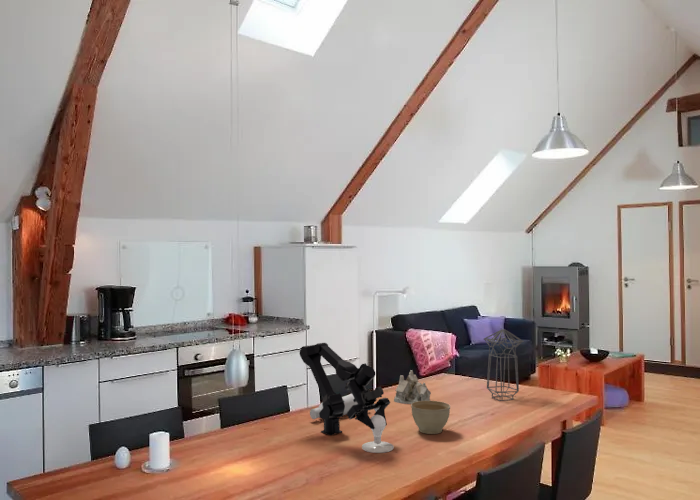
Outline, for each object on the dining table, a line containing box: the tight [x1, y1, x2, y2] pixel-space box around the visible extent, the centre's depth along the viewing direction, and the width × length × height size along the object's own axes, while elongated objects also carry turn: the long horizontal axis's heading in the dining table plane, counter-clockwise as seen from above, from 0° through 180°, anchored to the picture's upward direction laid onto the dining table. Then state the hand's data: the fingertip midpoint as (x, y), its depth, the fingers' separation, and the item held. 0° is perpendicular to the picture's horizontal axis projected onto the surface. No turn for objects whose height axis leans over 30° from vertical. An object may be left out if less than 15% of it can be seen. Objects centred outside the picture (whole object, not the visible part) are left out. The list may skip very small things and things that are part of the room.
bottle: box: [309, 393, 358, 420], centre depth 274 cm, size 9×9×30 cm
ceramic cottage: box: [393, 369, 432, 405], centre depth 300 cm, size 16×16×15 cm
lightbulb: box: [370, 414, 387, 444], centre depth 229 cm, size 6×6×11 cm
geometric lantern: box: [483, 328, 525, 402], centre depth 305 cm, size 16×16×35 cm
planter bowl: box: [410, 400, 451, 435], centre depth 250 cm, size 16×16×11 cm
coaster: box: [361, 440, 394, 454], centre depth 229 cm, size 12×12×1 cm
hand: (379, 427), depth 228 cm, fingers closed on lightbulb, 6 cm apart
